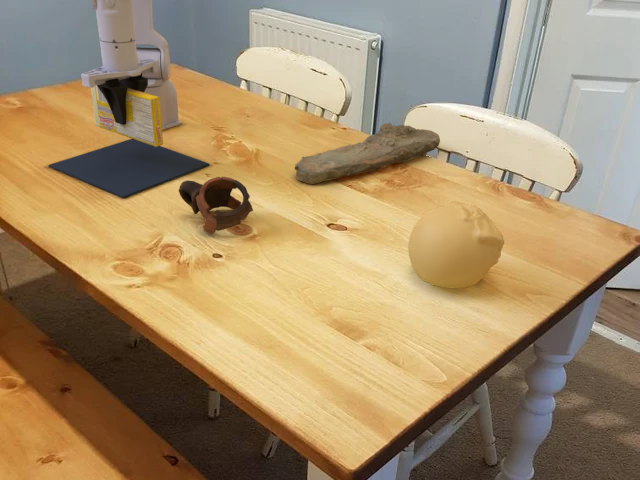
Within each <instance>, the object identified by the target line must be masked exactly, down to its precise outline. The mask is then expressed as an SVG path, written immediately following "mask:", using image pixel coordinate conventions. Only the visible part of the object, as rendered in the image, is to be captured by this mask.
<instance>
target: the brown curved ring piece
mask: <svg viewBox="0 0 640 480" xmlns="http://www.w3.org/2000/svg"><path fill="white" fill-rule="evenodd" d="M178 188H179V189H178V193H179V196H180V198H181V199H182V200H183V201H184V202H185V203H186V204H187V205H188V207H190V208H191V209H192V212H193V215H198V213H200V214H201V216H202V217H203V218H204V219H205V220H204V223H203V224H204V225H203V227H202V228H203V231H204V232H206V233H207V234H209V235H211V236H212V235H214V234H215V233H216V231H219V232H220V231H224V230H227V229H231V228H234V227H236V226H238V225H240V224H242V221H245V220H246V219H247V218H248V215H249V214H250V213H252V212H254V208H253V205H252V204H251V202H250V198H251V195H250V194H249V193H248V189H247V187H246V186H245V185H244V184H243V183H242V182H240V181H239V180H237V179H234V178H232V177H229V176H216V177H212V178H210V179H208V180H207V181H205V182H204V183H203V184H202V183H199V182H197V181H195V180H187V179H186V180H184V181H182V182H181V184H180V185H179V187H178ZM233 190H238V191H240V193H241V195H242V201H241V200H239V199H237V198H235V197H234V195H233V196H232V195H231V194H232V191H233ZM219 208H228V209H231V210H229V211H221V210H215V214H213V213H211V211H212V210H214V209H219Z"/></svg>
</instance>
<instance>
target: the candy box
mask: <svg viewBox="0 0 640 480" xmlns="http://www.w3.org/2000/svg"><path fill="white" fill-rule="evenodd" d="M90 94H91V101H92V103H91V104H92V108H93V109H92V110H93V116H94V123H95V127H98V128H100V129H103V130H106V131H109V132H112V133H114V134H115V133H116V134H118V135H121V136H124V137H127V138H130V139H135V140H138V141H141V142H144V143H147V144H149V145H152V146H155V147H158V146H163V145H164V137H163V135H164V134H163V130H162V122H161V110H160V98H159V97H157V96H154V95H151V94H147V93H144V92H140V91H137V90H133V89H130V88H128V89H127V93H126V124H125V125H122V124H119V123H116V122H115V119H114V116H113V114H112V111H111V109H110V106H109V104H108V102H107V100H106V99H105V97H104V95H103V94H102V92H101V91H100V89H99V88H98V87H97V85H95V87H93V88H90Z"/></svg>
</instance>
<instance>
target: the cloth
mask: <svg viewBox="0 0 640 480" xmlns="http://www.w3.org/2000/svg"><path fill="white" fill-rule="evenodd" d="M207 167H210V163H209V162H206V161H204V160H200V159H197V158H195V157H192V156H189V155H186V154H183V153H181V152H178V151H175V150H172V149H169V148H167V147H164V146H162V145H160V146H158V147H155V146H152V145H149V144H147V143H144V142H141V141H138V140H135V139H132V138H130V139H126V140H123V141H119V142H117V143H114V144H111V145H107V146H105V147H102V148H101V147H100V148H98V149H94V150H92V151H88V152H85V153H82V154H79V155H76V156H75V155H74V156H73V157H69V158H66V159H63V160H60V161H56V162H53V163H50V164H48V168H50V169H53V170H55V171H58V172H60V173H62V174H65V175H66V176H69V177H72V178H74V179H76V180H79V181H81V182H84V183H86V184H88V185H90V186H93V187H95V188H98V189H100V190H102V191H105V192H107V193H110V194H112V195H114V196H116V197H118V198H121V199H126V198H129V197H131V196H134V195H137V194H140V193H141V192H144V191H146V190H149V189H152V188H155V187H157V186H160V185H162V184H165V183H168V182H170V181H173V180H175V179H178V178H182V177H183V176H186V175H188V174H189V175H190V174H191V173H194V172H196V171H199V170H201V169H204V168H207Z"/></svg>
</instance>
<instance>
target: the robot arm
mask: <svg viewBox="0 0 640 480" xmlns="http://www.w3.org/2000/svg"><path fill="white" fill-rule="evenodd" d="M91 3H92V8H93V10H95V13H96V14H95V16H96V22H97V30H98V38H99V39H98V40H99V46H100V54H101V63H102V65H101V66H99V67H97V68H96V67H95V68H94V69H91V70H89V71H86V72H83V73H81V74H80V76H81V84H82V87H85V88H89V89H91V88H93V87H95V85H97V87H98V88H99V89H100V91H101V92H102V94H103V95H104V97H105V99H106V100H107V102H108V104H109V106H110V109H111V111H112V114H113V116H114V119H115V122H116V123H119V124H122V125H125V124H126V93H127V89H128V88H130V89H133V90H137V91H140V92H144V93H147V94H151V95H154V96H157V97H159V98H160V110H161V122H162V131H163V130H166V129H171V128H173V127H176V126H180V125H182V121H180V120H179V107H178V106H179V105H178V94H177V90H176V89H177V88H176V87H175V85H174V83H173V82H172V81H171V80H170V79H171V55H170V51H169V50H170V49H169V43H168V42H167V39H166V38H164V36H162V34H160V33H158V32H157V30H155V29H154V20H153V19H154V17H153V16H154V15H153V0H91ZM137 45H139V46H154V47H137Z"/></svg>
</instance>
